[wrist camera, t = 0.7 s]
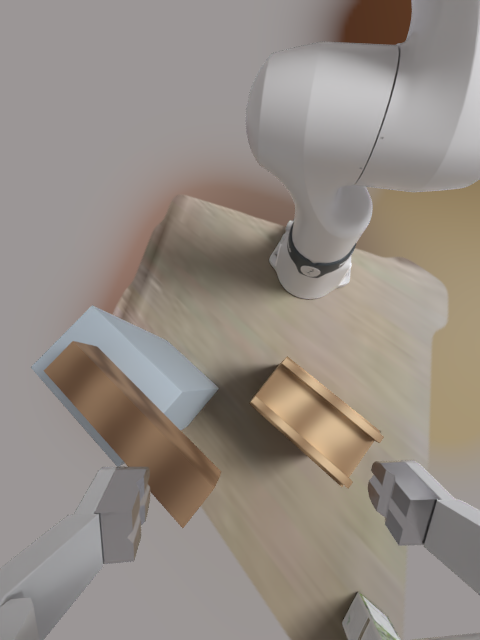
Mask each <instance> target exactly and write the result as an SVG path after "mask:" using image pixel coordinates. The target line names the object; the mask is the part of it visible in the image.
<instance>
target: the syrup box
mask: <svg viewBox="0 0 480 640" xmlns="http://www.w3.org/2000/svg"><path fill="white" fill-rule="evenodd" d="M342 625H343V628H344V630H345V633H346V636H347V639H348V640H400V638H399V636H398V634H397V633H396V631H395V629H394V627H393V625H392V624H391V622H390V620H389V618H388V617H387V616H386V615H385V614H384V613H383V612H381V611H380V610H379V609H378V608H377V607H376V606H374V605H373V604H372V603H371V602H370V601H369V600H367V599H366V598H365V597H364V596H363V595H362V594H361V593H359V592H358V593H357V595H356V596H355V598H354V600H353V602H352V604H351V606H350V608H349V610H348V612H347V614H346V616H345V617H344V619H343V621H342Z"/></svg>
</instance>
